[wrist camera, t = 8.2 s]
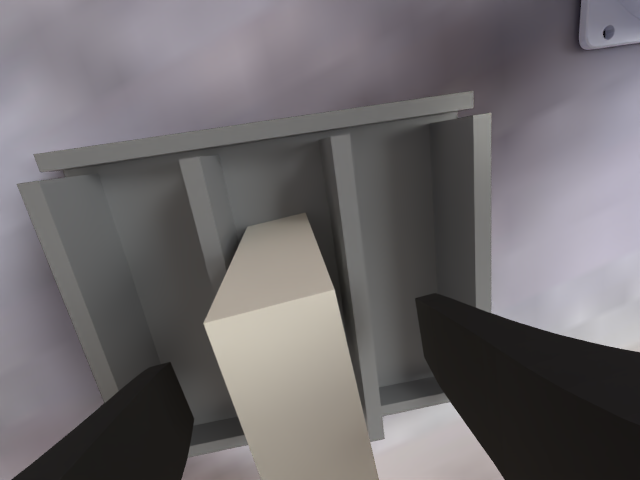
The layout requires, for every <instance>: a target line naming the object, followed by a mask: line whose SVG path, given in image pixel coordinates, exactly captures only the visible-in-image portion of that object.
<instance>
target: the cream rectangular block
mask: <svg viewBox="0 0 640 480" xmlns="http://www.w3.org/2000/svg"><path fill="white" fill-rule="evenodd" d="M203 324H204V327H205V329H206V332H207V335H208V337H209V340H210V343H211V345H212V348H213V351H214V354H215V356H216V359H217V362H218V364H219V367H220V370H221V372H222V375H223V378H224V380H225V383H226V386H227V389H228V391H229V394H230V397H231V399H232V402H233V405H234V407H235V410H236V413H237V416H238V418H239V421H240V424H241V426H242V429H243V432H244V434H245V437H246V440H247V442H248V445H249V448H250V451H251V453H252V456H253V459H254V461H255V464H256V467H257V469H258V472H259V475H260V478H261V480H379V478H378V474H377V470H376V465H375V461H374V457H373V453H372V448H371V444H370V440H369V435H368V431H367V427H366V422H365V418H364V414H363V410H362V405H361V401H360V397H359V392H358V388H357V384H356V380H355V375H354V371H353V367H352V362H351V358H350V354H349V349H348V345H347V341H346V337H345V332H344V328H343V324H342V319H341V315H340V311H339V306H338V302H337V298H336V294H335V289H334V287H333V284H332V281H331V279H330V276H329V274H328V271H327V268H326V266H325V263H324V260H323V258H322V255H321V252H320V250H319V247H318V245H317V242H316V239H315V237H314V234H313V231H312V229H311V226H310V223H309V221H308V218H307V215H306V213H301V214H297V215H293V216H289V217H285V218H281V219H277V220H273V221H268V222H264V223H260V224H256V225H252V226H248V227H247V229H246V231H245V233H244V235H243V237H242V240H241V242H240V244H239V246H238V248H237V251H236V253H235V255H234V257H233V259H232V261H231V264H230V266H229V268H228V270H227V272H226V275H225V277H224V279H223V281H222V283H221V286H220V288H219V290H218V292H217V294H216V297H215V299H214V301H213V303H212V305H211V308H210V310H209V312H208V314H207V316H206V319H205V321H204V323H203Z"/></svg>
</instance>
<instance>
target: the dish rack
mask: <svg viewBox="0 0 640 480" xmlns="http://www.w3.org/2000/svg"><path fill="white" fill-rule="evenodd" d="M471 108H474V92H473V91H468V92H461V93H454V94H447V95H440V96H433V97H426V98H419V99H413V100H406V101H399V102H392V103H385V104H378V105H371V106H364V107H357V108H350V109H344V110H337V111H330V112H323V113H316V114H309V115H302V116H295V117H288V118H281V119H274V120H268V121H261V122H254V123H247V124H240V125H233V126H226V127H219V128H212V129H205V130H199V131H192V132H185V133H178V134H171V135H164V136H157V137H150V138H143V139H136V140H130V141H123V142H116V143H109V144H102V145H95V146H88V147H81V148H74V149H67V150H61V151H54V152H47V153H40V154H33V155H34V157H35V160H36V162H37V165H38V168H39V170H40V172H50V171H61V170H63V172H64V175H65V178H57V179H49V180H41V181H34V182H27V183H20V184H17V186H18V189H19V191H20V194H21V196H22V199H23V201H24V203H25V206H26V208H27V211H28V213H29V216H30V218H31V221H32V223H33V226H34V228H35V231H36V233H37V236H38V238H39V241H40V243H41V246H42V248H43V251H44V253H45V256H46V258H47V261H48V263H49V266H50V268H51V271H52V273H53V276H54V278H55V281H56V283H57V286H58V288H59V291H60V293H61V296H62V298H63V301H64V303H65V306H66V308H67V311H68V313H69V316H70V318H71V321H72V323H73V326H74V328H75V331H76V333H77V336H78V338H79V341H80V343H81V346H82V348H83V351H84V353H85V356H86V358H87V361H88V363H89V366H90V368H91V371H92V373H93V376H94V378H95V381H96V383H97V386H98V388H99V391H100V393H101V396H102V398H103V401H104V403H105V402H107V401H108V400H109V399H110V398H111V397H112V396H114V395H115V394H116V393H117V392H118V391H119V390H121V389H122V388H123V387H124V386H125V385H127V384H128V383H129V382H130V381H131V380H133V379H134V378H135V377H136V376H138V375H139V374H140V373H142V372H143V371H144V370H146V369H147V368H149V367H152V366H156V365H160V364H164V363H167V362H171V364H172V367H173V369H174V371H175V374H176V376H177V379H178V381H179V383H180V386H181V388H182V390H183V393H184V395H185V398H186V400H187V402H188V405H189V407H190V410H191V412H192V414H193V417H194V424H193V431H192V437H191V443H190V448H189V453H188V457H193V456H198V455H202V454H207V453H212V452H217V451H221V450H226V449H231V448H235V447H240V446H245V445H248V442H247V440H246V437H245V434H244V432H243V429H242V426H241V424H240V421H239V418H238V416H237V413H236V410H235V407H234V405H233V402H232V399H231V397H230V394H229V391H228V389H227V386H226V383H225V380H224V378H223V375H222V372H221V370H220V367H219V364H218V362H217V359H216V356H215V354H214V351H213V348H212V345H211V343H210V340H209V337H208V335H207V332H206V329H205V327H204V324H203V323H204V321H205V319H206V316H207V314H208V312H209V310H210V308H211V305H212V303H213V301H214V299H215V297H216V294H217V292H218V290H219V288H220V286H221V283H222V281H223V279H224V277H225V275H226V272H227V270H228V268H229V266H230V264H231V261H232V259H233V257H234V255H235V253H236V251H237V248H238V246H239V244H240V242H241V240H242V237H243V235H244V233H245V231H246V229H247V227H248V226H252V225H256V224H260V223H264V222H268V221H273V220H277V219H281V218H285V217H289V216H293V215H297V214H301V213H306V215H307V218H308V221H309V223H310V226H311V229H312V231H313V234H314V237H315V239H316V242H317V245H318V247H319V250H320V252H321V255H322V258H323V260H324V263H325V266H326V268H327V271H328V274H329V276H330V279H331V281H332V284H333V287H334V289H335V294H336V298H337V302H338V306H339V311H340V315H341V319H342V324H343V328H344V332H345V337H346V341H347V345H348V349H349V354H350V358H351V362H352V367H353V371H354V375H355V380H356V384H357V388H358V392H359V397H360V401H361V405H362V410H363V414H364V418H365V422H366V427H367V431H368V435H369V439H370V442H373V441H377V440H382V439H385V438H384V429H383V421H382V416H386V415H391V414H396V413H401V412H405V411H410V410H415V409H419V408H424V407H429V406H434V405H438V404H443V403H448V402H450V401H449V399H448V398H447V396H446V395H445V393H444V392H443V390H442V389H441V388H440V386H439V384H438V382H437V380H436V379H435V377H434V375H433V373H432V371H431V369H430V367H429V365H428V364H427V362H426V360H425V358H424V353H423V347H422V341H421V334H420V328H419V321H418V315H417V308H416V302H415V298H418V297H421V296H425V295H429V294H433V293H437V294H440V295H443V296H446V297H449V298H452V299H455V300H457V301H460V302H462V303H465V304H468V305H470V306H473V307H476V308H478V309H481V310H484V311H486V312H489V313H491V113H486V114H479V115H473V116H467V117H462V118H457V112H458V111H462V110H467V109H471Z"/></svg>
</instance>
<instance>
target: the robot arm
mask: <svg viewBox="0 0 640 480" xmlns="http://www.w3.org/2000/svg"><path fill="white" fill-rule="evenodd" d="M604 30H605V33H606V35H605V38H604V37H603V31H604ZM579 43H580V45H581V47H582V48H583V49H585V50H592V49H599V48H606V47H613V46H620V45H628V44H635V43H640V0H581V13H580V28H579ZM415 302H416V308H417V315H418V321H419V328H420V334H421V341H422V347H423V353H424V358H425V360H426V362H427V364H428V365H429V367H430V369H431V371H432V373H433V375H434V377H435V379H436V380H437V382H438V384H439V386H440V388H441V389H442V390H443V392H444V393H445V395H446V396H447V398H448V399H449V401H450V402H451V403H452V405H453V406H454V408H455V409H456V410H457V412H458V413H459V415H460V416H461V418H462V419H463V420H464V422H465V423H466V425H467V426H468V427H469V429H470V430H471V432H472V433H473V434H474V436H475V437H476V439H477V440H478V441H479V443H480V444H481V446H482V447H483V448H484V450H485V451H486V453H487V454H488V455H489V457H490V458H491V460H492V461H493V462H494V464H495V466H496V467H497V469H498V470H499V472H500V473H501V475H502V476H503V478H504V479H505V480H640V352H635V351H629V350H624V349H619V348H614V347H609V346H604V345H600V344H595V343H591V342H587V341H583V340H579V339H575V338H570V337H566V336H562V335H559V334H555V333H551V332H548V331H544V330H541V329H538V328H534V327H531V326H528V325H525V324H521V323H518V322H515V321H512V320H509V319H506V318H503V317H500V316H498V315H495V314H492V313H489V312H486V311H484V310H481V309H478V308H476V307H473V306H470V305H468V304H465V303H462V302H460V301H457V300H455V299H452V298H449V297H446V296H443V295H440V294H437V293H433V294H429V295H425V296H421V297H418V298H415ZM193 424H194V417H193V414H192V412H191V410H190V407H189V405H188V402H187V400H186V398H185V395H184V393H183V390H182V388H181V386H180V383H179V381H178V379H177V376H176V374H175V371H174V369H173V367H172V364H171V362H167V363H164V364H160V365H156V366H152V367H149V368H147V369H146V370H144V371H143V372H142V373H140V374H139V375H138V376H136V377H135V378H134V379H133V380H131V381H130V382H129V383H128V384H127V385H125V386H124V387H123V388H122V389H121V390H119V391H118V392H117V393H116V394H115V395H114V396H112V397H111V398H110V399H109V400H108V401H107V402H105V403H104V404H103V405H102V406H101V407H100V408H98V409H97V410H96V411H95V412H94V413H93V414H91V415H90V416H89V417H88V418H87V419H86V420H84V421H83V422H82V423H81V424H80V425H79V426H77V427H76V428H75V429H74V430H73V431H71V432H70V433H69V434H68V435H66V436H65V437H64V438H63V439H62V440H60V441H59V442H58V443H57V444H55V445H54V446H53V447H52V448H51V449H49V450H48V451H47V452H46V453H44V454H43V455H42V456H41V457H39V458H38V459H37V460H36V461H35V462H33V463H32V464H31V465H30V466H28V467H27V468H26V469H25V470H23V471H22V472H21V473H19V474H18V475H17V476H15V477H14V478H13V479H12V480H181V478H182V475H183V472H184V468H185V465H186V461H187V458H188V453H189V448H190V443H191V437H192V431H193Z"/></svg>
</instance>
